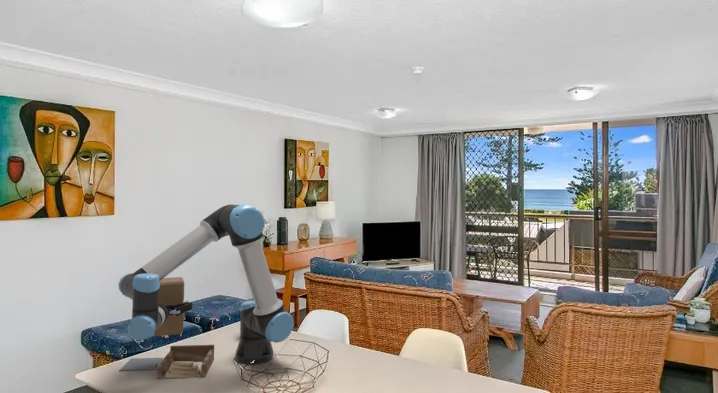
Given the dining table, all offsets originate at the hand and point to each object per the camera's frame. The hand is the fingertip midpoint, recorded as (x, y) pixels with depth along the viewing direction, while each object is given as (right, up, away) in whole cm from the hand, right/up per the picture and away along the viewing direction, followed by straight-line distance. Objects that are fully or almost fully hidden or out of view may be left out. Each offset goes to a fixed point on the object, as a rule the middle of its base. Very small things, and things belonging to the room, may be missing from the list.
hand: (170, 302), depth 172 cm
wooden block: (0, -11, -2) cm, 11 cm away
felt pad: (-11, -24, 0) cm, 27 cm away
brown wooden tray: (+8, -24, -3) cm, 26 cm away
